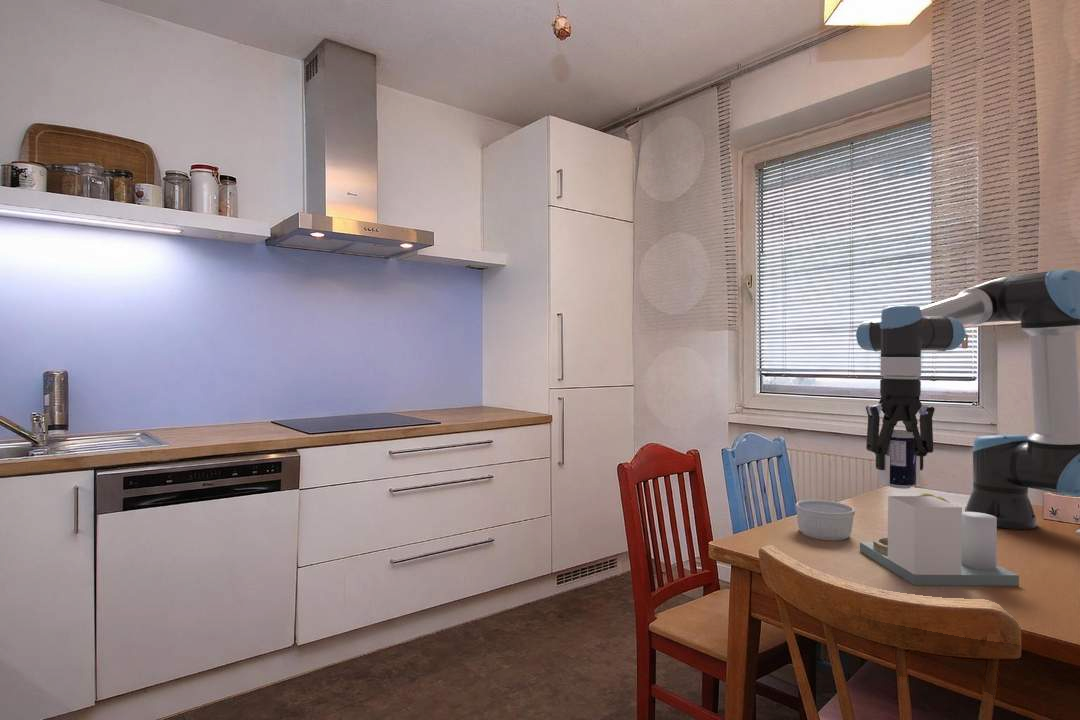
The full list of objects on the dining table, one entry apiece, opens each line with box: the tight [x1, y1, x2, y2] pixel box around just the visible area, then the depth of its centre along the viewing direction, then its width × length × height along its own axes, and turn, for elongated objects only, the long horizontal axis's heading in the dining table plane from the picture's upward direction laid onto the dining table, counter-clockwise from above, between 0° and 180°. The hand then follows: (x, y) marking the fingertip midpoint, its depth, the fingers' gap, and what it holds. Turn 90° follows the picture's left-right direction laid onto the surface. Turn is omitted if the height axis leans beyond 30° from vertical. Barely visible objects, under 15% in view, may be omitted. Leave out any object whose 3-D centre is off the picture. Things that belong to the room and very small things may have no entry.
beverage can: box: [886, 429, 915, 490], centre depth 130 cm, size 6×6×12 cm
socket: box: [872, 536, 888, 554], centre depth 130 cm, size 10×10×2 cm
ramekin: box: [795, 499, 856, 541], centre depth 149 cm, size 13×13×7 cm
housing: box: [887, 495, 963, 575], centre depth 120 cm, size 9×9×13 cm
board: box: [859, 511, 1020, 587], centre depth 126 cm, size 20×20×12 cm
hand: (899, 484), depth 130 cm, fingers closed on beverage can, 6 cm apart
